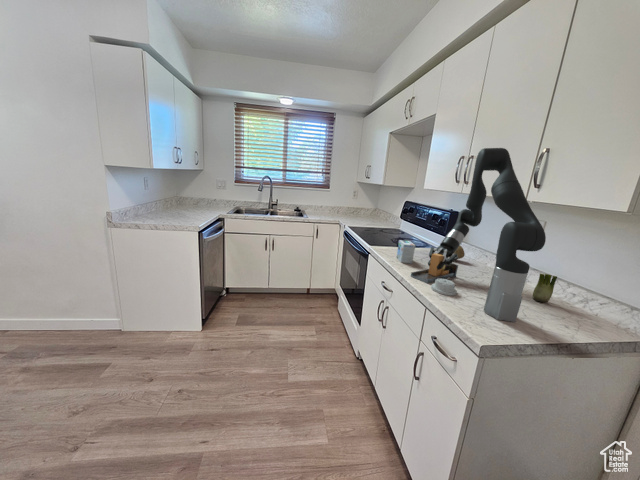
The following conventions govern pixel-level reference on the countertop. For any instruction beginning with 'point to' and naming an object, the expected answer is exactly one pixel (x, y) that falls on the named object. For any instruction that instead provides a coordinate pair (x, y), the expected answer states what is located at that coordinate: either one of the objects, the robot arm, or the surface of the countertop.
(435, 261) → the orange block
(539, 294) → the fennel bulb
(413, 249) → the light bulb box
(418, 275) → the dark grey tray
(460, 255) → the natural sponge
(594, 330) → the countertop surface
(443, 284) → the mechanical component
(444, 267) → the keeper
